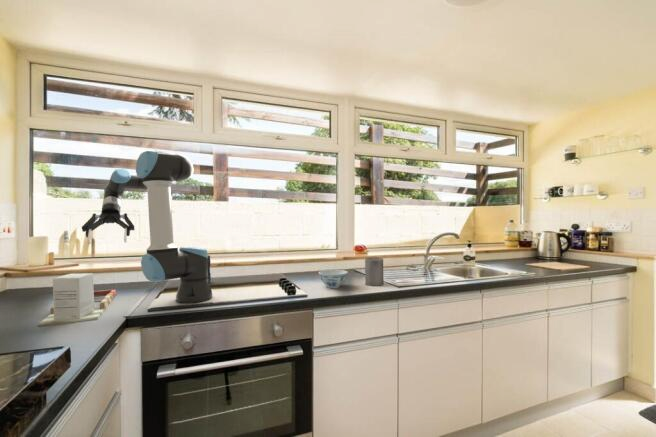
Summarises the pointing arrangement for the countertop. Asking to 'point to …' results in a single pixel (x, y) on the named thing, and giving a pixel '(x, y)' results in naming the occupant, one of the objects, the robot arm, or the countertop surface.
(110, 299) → the track
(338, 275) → the chinaware
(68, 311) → the supplement box
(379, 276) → the pillar candle
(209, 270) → the storage jar
